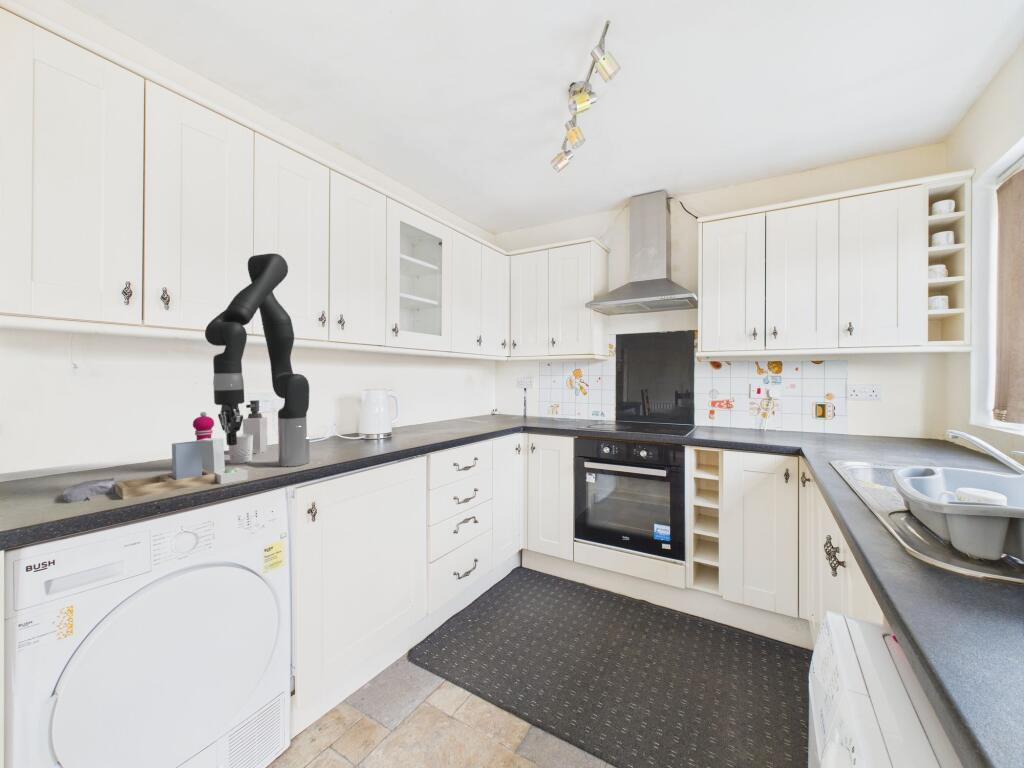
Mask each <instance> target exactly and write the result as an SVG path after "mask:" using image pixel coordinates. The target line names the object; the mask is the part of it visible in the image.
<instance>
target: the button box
mask: <svg viewBox="0 0 1024 768" xmlns="http://www.w3.org/2000/svg"><path fill="white" fill-rule="evenodd" d="M233 469H235V472H230V473H225V470H226V469H225V470H222V471H216V472H213V474H215V483H217V484H220V485H223V484H228V483H234V482H240V481H246V480H249V476H248V474H249V473H248V472H249V471H248V470H247V469H243V468H240V467H235V468H234V467H233Z"/></svg>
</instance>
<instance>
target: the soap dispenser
mask: <svg viewBox="0 0 1024 768" xmlns="http://www.w3.org/2000/svg"><path fill="white" fill-rule="evenodd" d="M249 402H250V404H246V405H245V408H246V409H250V412H251V413H248V414H247V415H248V416H247V418H243V420H242V431H243V432H242V434H252V435H253V449H252V453H261V454H263V453H262V452H264V453H266V452H268V417H263V415H262V412H260V400H249ZM265 451H266V452H265Z"/></svg>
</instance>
